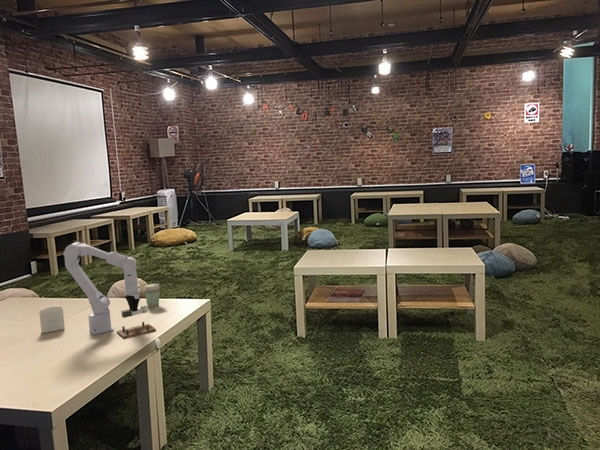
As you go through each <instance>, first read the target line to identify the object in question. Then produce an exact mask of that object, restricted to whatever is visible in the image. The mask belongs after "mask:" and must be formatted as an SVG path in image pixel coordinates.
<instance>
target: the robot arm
mask: <svg viewBox="0 0 600 450" xmlns="http://www.w3.org/2000/svg"><path fill="white" fill-rule="evenodd" d="M62 255H63V257H64V266H65V269H66V270H67V271H68V272H69V274H70V275H71V277H72V278H73V279H74V281H75V282H76V283H77V285H78V286H79V287H80V289H81V290H82V291H83V292H84V294H85V295H86V297H87V298H88V303H89V305H90V306H91V311H92V312H93V313H91V314H88V325H89V326H88V328H89V330H88V331H89V332H90V333H91V334H92V335H93V336H94V335H95V336H96V335H99V334H102V333H103V334H104V333H107V332H112V331H115V328H114V327H112V319H111V310H110V309H109V306H110V304H111V301H110V299H109V297H107V296H105V295H104V294H103V293H102V292H101V291H99V290H98V289H97V287H96V286H95V284H93V282H92V281H91V279H90V278H89V276H88V275H87V273H85V271H84V270H83V268H82V267H81V266H80V265H79V263H80V259H81V257H84V256H87V255H89V256H92V257H95V258H99V259H102V260H105V261H106V263H107V264H110V265H113V266H116V267H117V268H122V270H123V273H124V274H123V276H124V277H123V278H124V289H125V290H124V291H125V296H124V298H125V300H126V302H127V304H128V308H129V309H132V311H133V312H135V311H137V310H138V307H139V303H140V300H141V296H140V293H141V292H142V290H140V289H139V284H138V273H137V268H136V267H137V263H138V262H137V260H136V258H135V257H133V256H130V255H129V256H128V255H123V254H120V253H119V252H118V251H110V252H107V251H104V250H102V249H99V248H97V247H94V246H91V245H89V244H87V243H83V242H80V241H74V242H73V243H71V244H69V245H67V246H66V247H65V249H64V251H63V254H62Z"/></svg>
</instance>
